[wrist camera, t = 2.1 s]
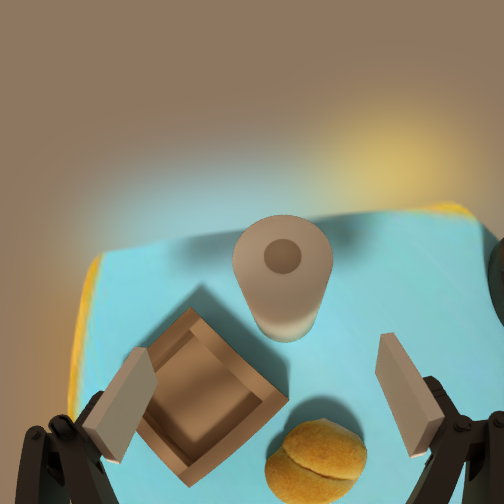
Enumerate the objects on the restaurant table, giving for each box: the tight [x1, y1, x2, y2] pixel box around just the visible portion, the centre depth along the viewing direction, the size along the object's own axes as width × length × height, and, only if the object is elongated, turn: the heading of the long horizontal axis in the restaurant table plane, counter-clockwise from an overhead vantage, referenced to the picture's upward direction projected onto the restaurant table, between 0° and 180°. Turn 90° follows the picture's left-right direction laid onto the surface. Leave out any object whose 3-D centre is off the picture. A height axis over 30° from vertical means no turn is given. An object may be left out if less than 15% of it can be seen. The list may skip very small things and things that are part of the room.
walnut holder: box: [136, 307, 289, 488], centre depth 23 cm, size 12×12×3 cm
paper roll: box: [232, 215, 333, 343], centre depth 22 cm, size 6×6×12 cm
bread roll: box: [265, 418, 367, 504], centre depth 19 cm, size 8×9×4 cm
